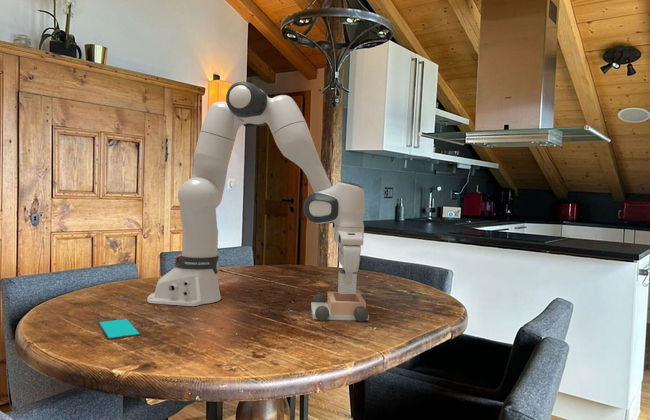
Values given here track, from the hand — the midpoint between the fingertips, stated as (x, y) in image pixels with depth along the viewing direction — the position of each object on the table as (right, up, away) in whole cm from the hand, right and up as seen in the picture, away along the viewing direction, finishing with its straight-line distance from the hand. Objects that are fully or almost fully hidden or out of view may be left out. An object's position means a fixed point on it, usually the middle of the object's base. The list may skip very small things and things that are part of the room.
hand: (346, 282), depth 139 cm
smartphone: (-58, -9, -23) cm, 63 cm away
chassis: (-2, -9, 0) cm, 10 cm away
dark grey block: (0, -3, 0) cm, 3 cm away
